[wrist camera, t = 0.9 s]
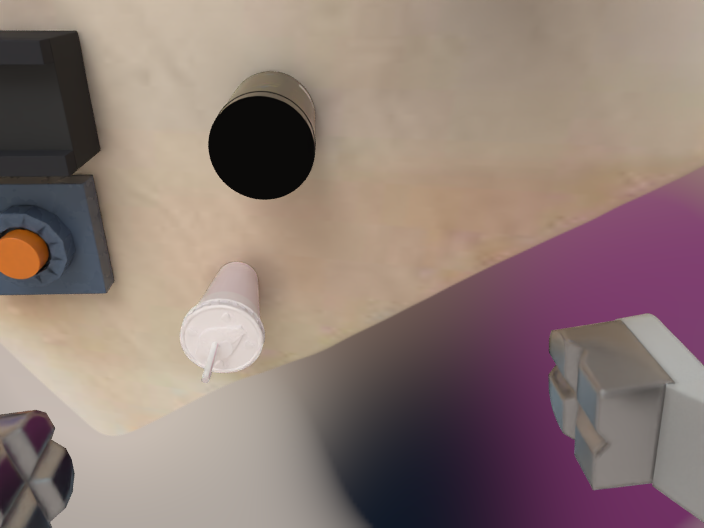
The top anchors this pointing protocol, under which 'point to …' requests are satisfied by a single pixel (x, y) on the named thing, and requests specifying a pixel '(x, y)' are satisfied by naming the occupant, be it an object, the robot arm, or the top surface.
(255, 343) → the smoothie
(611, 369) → the robot arm
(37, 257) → the button
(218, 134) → the supplement container
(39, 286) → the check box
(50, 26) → the top surface
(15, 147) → the inspection stand
